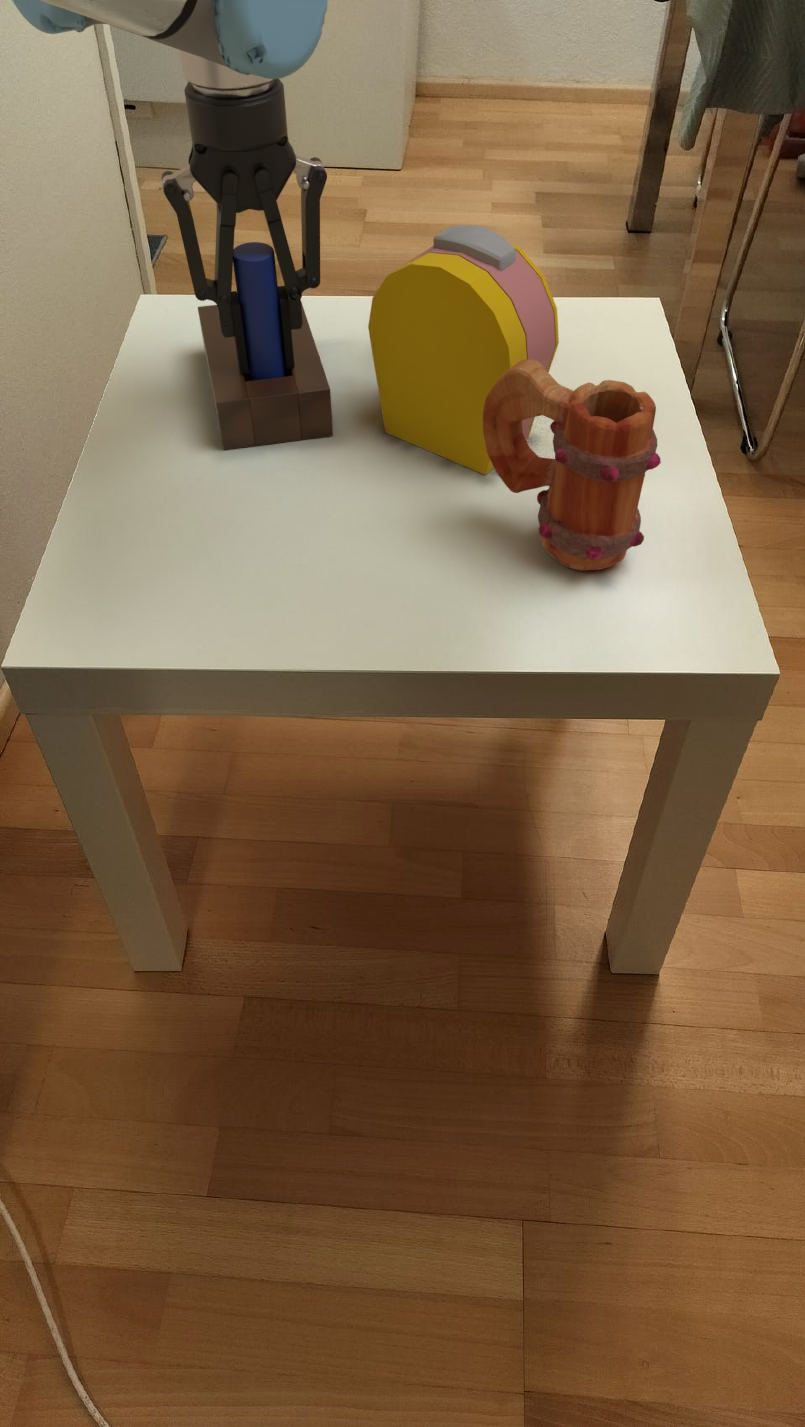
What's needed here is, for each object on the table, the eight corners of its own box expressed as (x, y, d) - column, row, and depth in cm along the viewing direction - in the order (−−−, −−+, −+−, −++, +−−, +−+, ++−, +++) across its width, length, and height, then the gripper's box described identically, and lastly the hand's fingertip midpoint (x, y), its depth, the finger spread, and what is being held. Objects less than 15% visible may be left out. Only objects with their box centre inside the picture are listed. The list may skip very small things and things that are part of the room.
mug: (655, 543, 85) (694, 383, 73) (615, 598, 80) (650, 438, 69) (503, 486, 90) (518, 328, 78) (457, 535, 85) (466, 376, 74)
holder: (223, 450, 93) (215, 403, 89) (204, 352, 104) (197, 306, 101) (333, 436, 95) (330, 388, 91) (303, 340, 106) (299, 295, 102)
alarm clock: (548, 439, 94) (574, 243, 80) (502, 482, 90) (520, 283, 76) (420, 387, 100) (423, 197, 86) (370, 425, 96) (365, 231, 82)
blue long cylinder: (251, 390, 93) (234, 263, 84) (246, 370, 95) (229, 244, 86) (289, 385, 93) (276, 258, 84) (283, 365, 96) (270, 239, 87)
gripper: (332, 54, 79) (345, 332, 97) (119, 71, 76) (173, 353, 94) (350, 87, 74) (361, 373, 92) (123, 106, 72) (179, 396, 90)
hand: (265, 362), depth 93 cm, fingers closed on blue long cylinder, 4 cm apart
